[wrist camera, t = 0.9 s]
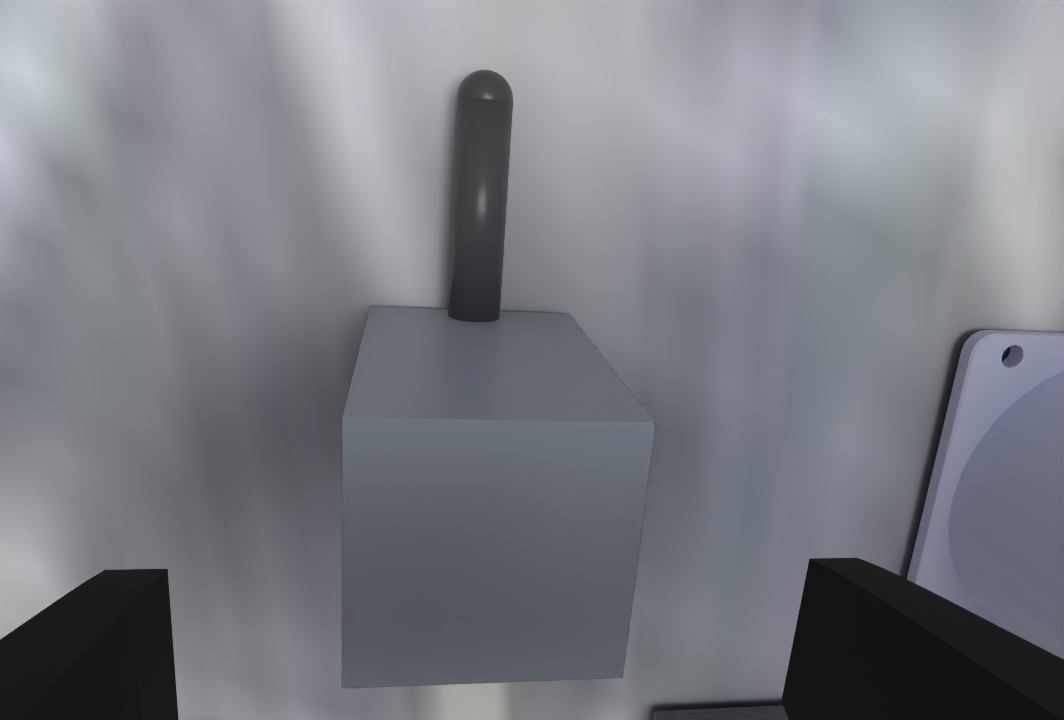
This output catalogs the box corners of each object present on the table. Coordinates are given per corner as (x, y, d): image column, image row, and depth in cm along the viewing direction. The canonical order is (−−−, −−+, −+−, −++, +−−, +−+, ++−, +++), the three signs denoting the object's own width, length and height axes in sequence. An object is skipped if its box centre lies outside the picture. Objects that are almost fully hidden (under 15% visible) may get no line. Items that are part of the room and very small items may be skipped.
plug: (590, 81, 14) (701, 55, 9) (553, 490, 17) (623, 677, 11) (372, 61, 14) (343, 21, 8) (367, 490, 16) (341, 688, 11)
